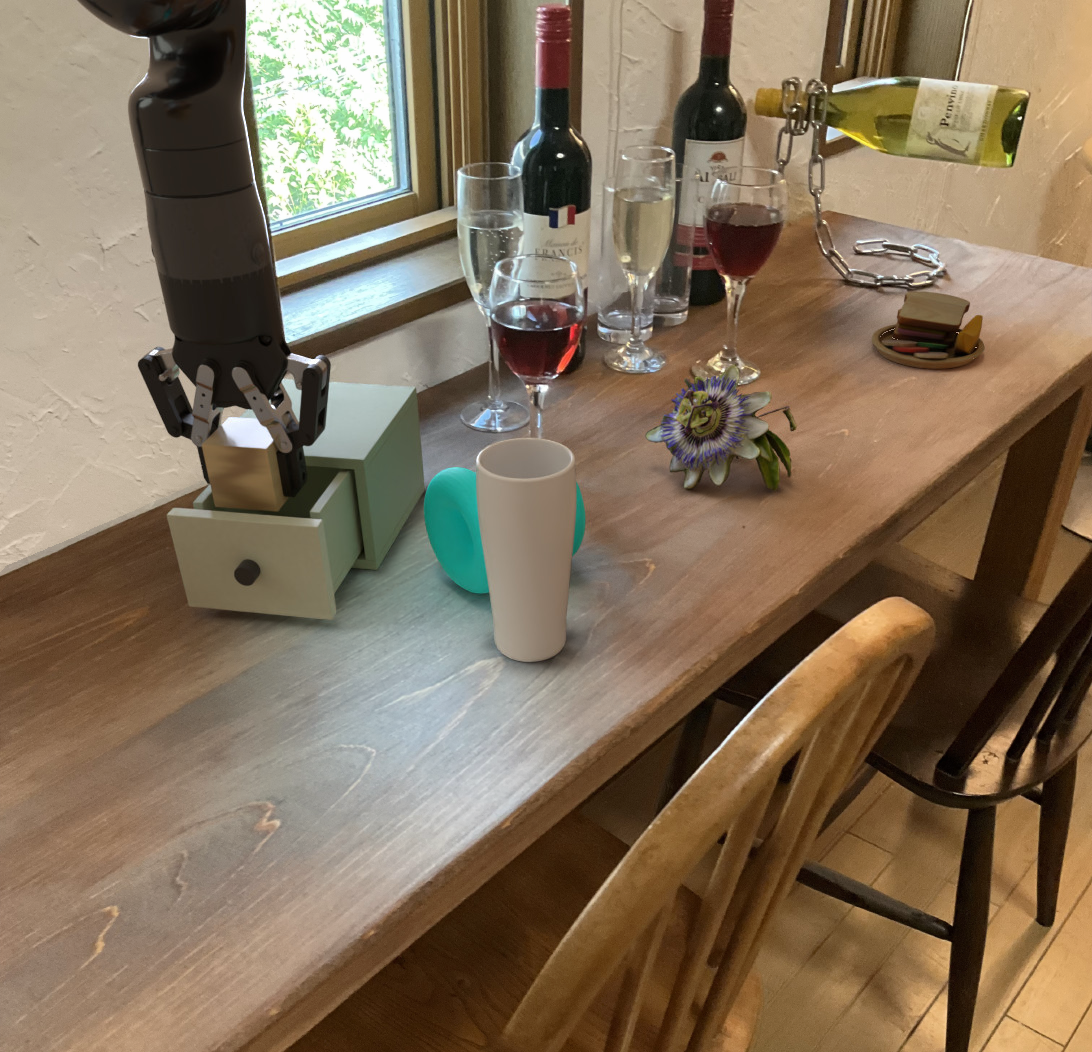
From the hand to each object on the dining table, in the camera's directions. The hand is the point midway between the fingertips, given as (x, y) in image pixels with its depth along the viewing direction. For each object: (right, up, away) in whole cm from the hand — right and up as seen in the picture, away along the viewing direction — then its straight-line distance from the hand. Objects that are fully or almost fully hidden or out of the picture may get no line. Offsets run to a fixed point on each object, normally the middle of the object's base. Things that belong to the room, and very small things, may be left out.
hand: (257, 489), depth 86 cm
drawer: (+1, -6, +5) cm, 8 cm away
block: (0, 0, 0) cm, 0 cm away
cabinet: (+3, 0, +14) cm, 14 cm away
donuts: (+19, -6, +7) cm, 21 cm away
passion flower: (+38, +6, +20) cm, 44 cm away
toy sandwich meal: (+66, +25, +45) cm, 83 cm away
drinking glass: (+21, -12, -2) cm, 24 cm away
